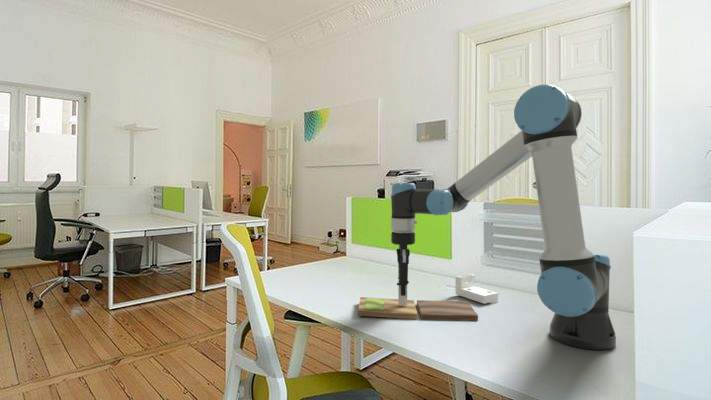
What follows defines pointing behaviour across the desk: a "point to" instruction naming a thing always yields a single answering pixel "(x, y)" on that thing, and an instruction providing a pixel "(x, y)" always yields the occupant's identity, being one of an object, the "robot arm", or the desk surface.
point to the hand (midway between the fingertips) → (402, 304)
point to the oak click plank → (386, 308)
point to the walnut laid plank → (446, 310)
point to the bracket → (474, 290)
